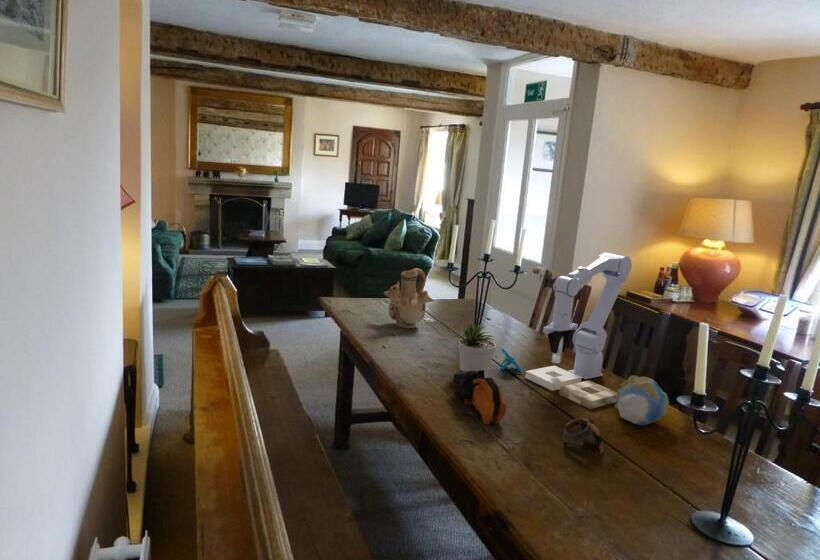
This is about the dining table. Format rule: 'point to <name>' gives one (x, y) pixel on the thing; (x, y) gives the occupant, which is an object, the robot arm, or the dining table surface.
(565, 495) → the dining table surface
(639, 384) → the decorative rock
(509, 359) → the blue irregular piece
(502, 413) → the tool
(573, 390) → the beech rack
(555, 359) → the steel peg
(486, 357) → the potted plant
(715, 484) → the dining table surface
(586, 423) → the pottery mug
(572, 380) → the socket block
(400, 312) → the ceramic vessel
